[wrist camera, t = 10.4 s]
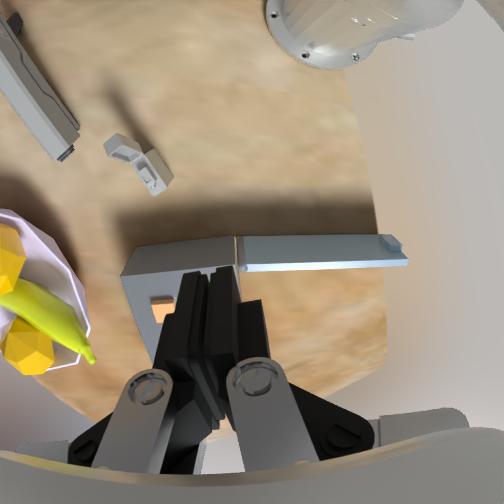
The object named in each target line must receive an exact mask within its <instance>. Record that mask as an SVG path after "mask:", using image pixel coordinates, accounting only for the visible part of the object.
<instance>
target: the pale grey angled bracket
mask: <svg viewBox="0 0 504 504" xmlns="http://www.w3.org/2000/svg"><path fill="white" fill-rule="evenodd" d="M103 145H104V148H105V150H106V153H107V155H108V157H111V158H114V159H117V160H120V161H123V162H126V163H129V164H130V163H132V164H131V165H132V167H133V168H134V170H135V171H136V173H137V175H138V176H139V178H140V179H141V181H142V182H143V183H144V185H145V186H146V188H147V189H148V190H149V192H150V193H151V194H152V196H156V195H158V194H159V193H161V192H162V191H164V190H165V189H166V188H167V187H168V186H169V184H170V183H171V181H172V180H173V178H174V176H173V175H172V173H171V172H170V170H169V169H168V167H167V166H166V164H165V163H164V161H163V160H162V158H161V157H160V155H159V154H158V152H157V151H156V149H154V148H153V149H151V150H150V151H148V152H146V153H145V154H143V152H142V149H141V147H140V145H139V143H137V142H135V141H133V140H131V139H129V138H127V137H125V136H123V135H121V134H118V133H117V134H115V135H113V136H112V137H111V138H110V139H108V140H107V141H106V142H105V143H104V144H103Z"/></svg>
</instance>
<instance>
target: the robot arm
mask: <svg viewBox="0 0 504 504" xmlns="http://www.w3.org/2000/svg"><path fill="white" fill-rule="evenodd" d="M477 1H478V2H479V4H480V5H481V6H482V7H483V8H484V9H485V10H486V12H487V13H488V14H489V15H490V16H491V17H492V18H493V19H494V20H495V21H496V23H497V24H498V25H499V26H500V28H501V29H502V30H503V32H504V0H477ZM463 2H464V0H267V4H266V21H267V25H268V28H269V31H270V32H271V34H272V36H273V38H274V40H275V41H276V42H277V44H278V45H279V46H280V47H281V48H282V49H283V50H284V51H285V52H286V53H287V54H288V55H290V56H291V57H293V58H294V59H296V60H297V61H299V62H301V63H304V64H306V65H308V66H311V67H315V68H318V69H327V70H335V69H343V68H348V67H350V66H353V65H356V64H358V63H360V62H361V61H363V60H365V59H366V58H367V57H368V56H369V55H370V54H371V53H372V51H373V50H374V48H375V47H376V45H377V43H379V42H382V41H385V40H389V39H392V38H395V37H397V38H400V39H406V40H414V38H415V36H416V32H418V31H422V30H425V29H429V28H433V27H436V26H438V25H441V24H443V23H445V22H446V21H448V20H449V19H451V18H452V17H453V16H454V15H455V14H456V13H457V11H458V10H459V9H460V8H461V6H462V4H463ZM271 15H275V16H276V18H272V17H271ZM302 54H305V55H306V58H303V57H302ZM352 56H354V60H353V59H352ZM225 413H226V415H227V418H228V420H229V422H230V424H231V426H232V429H233V430H234V431H235V432H236V433H237V437H238V442H239V446H240V451H241V455H242V460H243V464H244V468H245V472H240V473H225V474H202V475H200V474H201V469H202V464H203V459H204V454H205V449H206V437H207V436H208V435H209V434H210V433H212V430H216V429H219V425H220V420H224V419H225ZM0 504H504V431H501V430H497V429H493V428H482V427H474V428H470V427H469V423H468V421H467V418H466V416H465V415H464V414H463V413H462V412H460V411H459V410H457V409H454V408H440V409H433V410H427V411H420V412H412V413H404V414H394V415H384V416H379V419H375V420H366V419H364V418H362V417H361V416H359V415H357V414H355V413H352V412H350V411H348V410H346V409H343V408H341V407H339V406H337V405H335V404H333V403H330V402H328V401H326V400H324V399H322V398H320V397H318V396H316V395H314V394H312V393H309V392H307V391H305V390H303V389H301V388H299V387H297V386H295V385H293V384H291V383H289V382H288V381H287V378H286V375H285V373H284V370H283V369H282V367H281V366H280V364H278V363H277V362H276V361H274V360H272V359H271V356H270V349H269V342H268V335H267V329H266V323H265V318H264V312H263V307H262V302H261V299H260V300H254V301H248V302H241V298H240V294H239V289H238V285H237V281H236V276H235V272H234V268H233V265H229V266H224V267H218V268H216V272H214V273H211V274H210V283H209V279H208V276H207V274H201V272H200V271H194V272H188V273H183V276H182V280H181V284H180V289H179V293H178V297H177V301H176V306H175V310H174V313H168V314H166V315H165V318H164V321H163V325H162V329H161V333H160V337H159V341H158V346H157V350H156V354H155V358H154V363H153V367H152V369H147V370H144V371H141V372H139V373H137V374H135V375H134V376H133V377H132V378H130V379H129V380H128V382H127V383H126V385H125V387H124V389H123V391H122V394H121V396H120V398H119V400H118V403H117V405H116V407H115V410H114V411H113V412H112V413H111V414H109V415H108V416H106V417H105V418H104V419H102V420H101V421H99V422H98V423H97V424H95V425H94V426H92V427H91V428H90V429H88V430H87V431H85V432H84V433H83V434H81V435H80V436H78V437H77V438H76V439H75V440H74V441H73V442H72V443H71V442H70V441H69V440H64V441H54V442H41V443H27V444H24V445H21V446H20V447H19V448H18V449H17V450H16V452H10V451H4V450H0Z"/></svg>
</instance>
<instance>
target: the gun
mask: <svg viewBox="0 0 504 504" xmlns="http://www.w3.org/2000/svg"><path fill="white" fill-rule="evenodd" d="M22 25H23V21H22V20H21V18H20V17H19V15H18V14H17V13H16V12H15V13H14V14H13V15H12V16H11V17H10V18H9V19H8V20H7V22H6V21H5V19H4V17H3V16H2V14H1V13H0V90H1V92H2V93H3V94H4V96H5V97H6V99H7V100H8V102H9V103H10V104H11V106H12V107H13V109H14V110H15V111H16V113H17V114H18V116H19V117H20V118H21V120H22V121H23V122H24V124H25V125H26V126H27V128H28V129H29V130H30V132H31V133H32V134H33V136H34V137H35V138H36V140H37V141H38V142H39V143H40V145H41V146H42V147H43V149H44V150H45V151H46V152H47V154H48V155H49V156H50V157H51V159H52V160H53V161H55V160H56V159H57V160H58V161H59V160H60V161H61V162H62V161H64V160H65V159H66V158H67V157H68V156H69V155H70V154H71V153H72V152H73V151H74V150H75V149H74V148H73V147H74V146H73V143H74V142H75V141H76V140H77V139H78V138H79V137H80V134H79V133H78V132H77V131H78V130H79V125H78V124H77V123H76V121H75V120H74V119H73V117H72V116H71V115H70V113H69V112H68V111H67V109H66V108H65V107H64V105H63V104H62V102H61V101H60V100H59V98H58V97H57V96H56V94H55V93H54V91H53V90H52V89H51V87H50V86H49V84H48V83H47V82H46V80H45V79H44V77H43V76H42V75H41V73H40V72H39V70H38V69H37V67H36V66H35V64H34V63H33V62H32V60H31V59H30V57H29V56H28V54H27V53H26V51H25V50H24V48H23V47H22V45H21V44H20V42H19V41H18V39H17V38H16V36H17V34H18V32H19V30H20V28H21V27H22Z"/></svg>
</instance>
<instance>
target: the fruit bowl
mask: <svg viewBox="0 0 504 504" xmlns="http://www.w3.org/2000/svg"><path fill="white" fill-rule="evenodd" d="M90 330H91V326H90V321H89V315H88V309H87V303H86V297H85V291H84V287H83V285H82V284H81V282H80V281H79V279H78V278H77V276H76V275H75V273H74V271H73V270H72V268H71V267H70V265H69V264H68V262H67V260H66V259H65V257H64V255H63V254H62V252H61V251H60V249H59V247H58V246H57V244H56V242H55V240H54V239H53V238H52V237H50V236H49V235H47V234H46V233H44V232H43V231H41V230H40V229H38V228H37V227H35V226H34V225H32V224H31V223H29V222H28V221H26V220H25V219H23V218H22V217H20V216H19V215H18V214H16V213H15V212H13V211H12V210H11V209H0V352H1V353H2V354H3V356H4V358H5V359H6V360H7V361H8V362H9V363H11V364H12V365H13V366H14V367H15V368H16V369H17V370H19V371H20V372H21V373H22V374H23V375H34V374H43V373H44V372H45V371H47V370H51V369H56V368H61V367H65V366H70V365H74V364H78V362H79V359H80V356H81V355H82V354H84V356H85V357H86V359H87V360H88V362H89V363H90V365H91V364H94V363H96V358H95V356H94V355H93V353H92V352H91V350H90V343H89V341H88V339H87V337H88V335H89V332H90Z"/></svg>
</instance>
